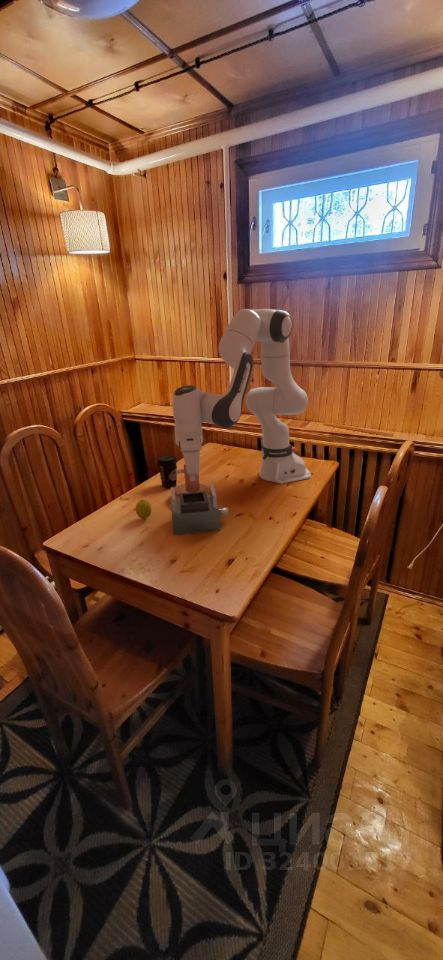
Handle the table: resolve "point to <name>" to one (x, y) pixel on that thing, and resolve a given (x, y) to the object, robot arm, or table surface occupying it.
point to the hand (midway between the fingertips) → (191, 477)
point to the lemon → (143, 509)
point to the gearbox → (195, 512)
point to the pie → (182, 489)
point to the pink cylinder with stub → (190, 485)
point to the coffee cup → (168, 471)
